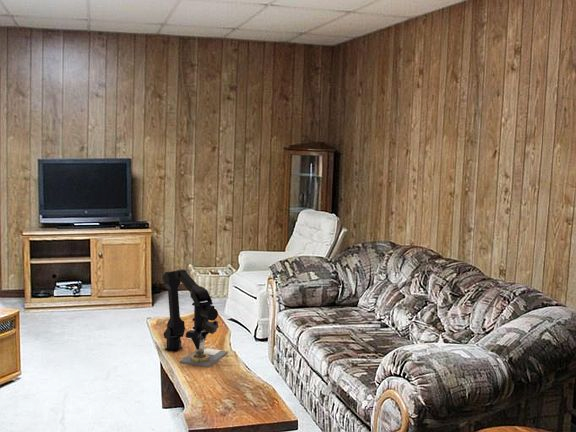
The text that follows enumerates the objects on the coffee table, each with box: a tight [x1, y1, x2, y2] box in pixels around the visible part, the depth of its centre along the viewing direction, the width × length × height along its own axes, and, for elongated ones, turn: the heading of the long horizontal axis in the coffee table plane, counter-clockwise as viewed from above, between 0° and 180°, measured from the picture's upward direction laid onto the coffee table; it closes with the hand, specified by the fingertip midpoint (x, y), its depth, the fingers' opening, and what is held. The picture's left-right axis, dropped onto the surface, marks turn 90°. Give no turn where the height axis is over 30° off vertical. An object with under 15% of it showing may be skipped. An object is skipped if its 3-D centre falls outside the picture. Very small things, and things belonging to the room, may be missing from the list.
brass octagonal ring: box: [190, 354, 209, 362], centre depth 325 cm, size 8×8×2 cm
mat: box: [204, 348, 222, 356], centre depth 336 cm, size 8×8×1 cm
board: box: [179, 347, 229, 368], centre depth 330 cm, size 15×22×1 cm
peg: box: [195, 338, 205, 354], centre depth 324 cm, size 4×4×7 cm
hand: (199, 347), depth 325 cm, fingers closed on peg, 4 cm apart
